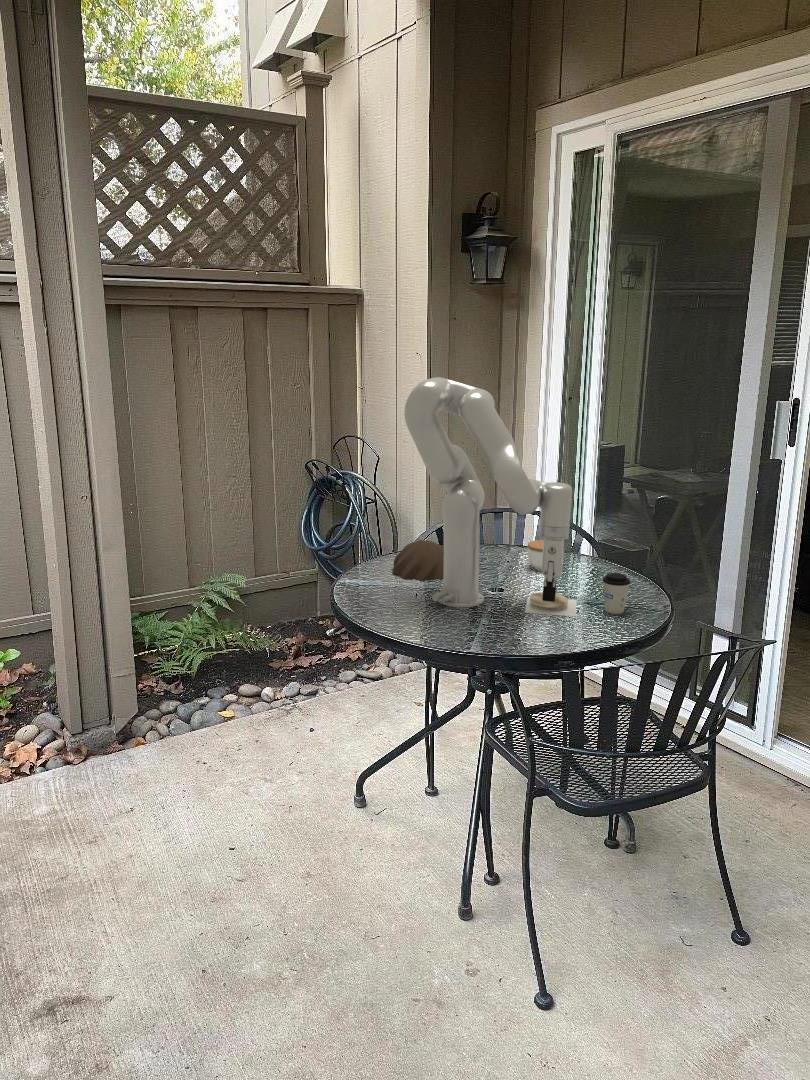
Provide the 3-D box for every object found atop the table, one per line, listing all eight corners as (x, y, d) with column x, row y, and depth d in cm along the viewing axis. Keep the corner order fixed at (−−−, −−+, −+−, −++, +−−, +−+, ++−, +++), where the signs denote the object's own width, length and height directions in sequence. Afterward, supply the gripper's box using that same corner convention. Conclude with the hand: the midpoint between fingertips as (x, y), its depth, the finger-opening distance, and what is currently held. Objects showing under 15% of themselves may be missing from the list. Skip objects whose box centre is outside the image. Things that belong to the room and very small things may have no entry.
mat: (575, 618, 198) (576, 616, 198) (524, 614, 201) (524, 612, 201) (576, 601, 210) (576, 599, 210) (528, 598, 213) (528, 596, 213)
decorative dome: (378, 572, 237) (378, 540, 234) (422, 559, 250) (422, 529, 248) (425, 586, 224) (425, 552, 221) (469, 571, 237) (470, 540, 235)
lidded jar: (524, 563, 245) (526, 534, 243) (559, 563, 245) (560, 534, 242) (528, 573, 235) (530, 543, 232) (564, 573, 234) (566, 543, 232)
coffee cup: (624, 608, 205) (627, 571, 203) (631, 617, 198) (634, 580, 196) (597, 607, 205) (600, 571, 203) (603, 617, 199) (606, 579, 196)
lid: (554, 610, 198) (556, 589, 197) (522, 601, 205) (523, 580, 203) (575, 601, 206) (576, 580, 204) (542, 592, 212) (544, 572, 210)
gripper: (568, 540, 192) (562, 610, 196) (569, 524, 207) (564, 590, 212) (537, 537, 193) (532, 607, 198) (541, 522, 209) (536, 587, 213)
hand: (548, 597), depth 205 cm, fingers closed on lid, 3 cm apart
